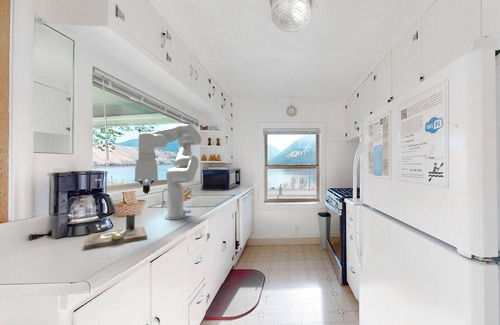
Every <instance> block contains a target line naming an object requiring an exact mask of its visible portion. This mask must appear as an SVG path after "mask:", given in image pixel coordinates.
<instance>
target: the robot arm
mask: <svg viewBox="0 0 500 325" xmlns="http://www.w3.org/2000/svg"><path fill="white" fill-rule="evenodd" d="M175 141H177V145H178V148H179V150H178V153H177V155H176V157H175V160H174V163H173V166H174V167H172V168H169V169H168V170H167V171H166V173H165V178H166V184H167V214H166V215H164V219H166V220H181V219H184V218H186V217H187V215H186V214H191V213H192V210H191V209H184V187H183V185H182V184H191V183H192V182H193V181H194V179H195V177H196V174H197V171H198V168H199V164H200V163H199V159H198V158H199V157H197V156H196V155H192V150H191V149H190V148H189V147H188V146H199V145H200V144H201V143H202V136H201V134H200V133H199V131H198V130H197V128H195V126H193V125H191V124H186V123H185V124H175V125H173V126H171V127H168V128H164V129H160V130H157V131H151V132H140V133H139V134H138V155H137V156H138V158H137V159H136V162H135V168H134V180H133V181H134V182H135V183H140V184H141V185H142V192H143V193H144V194H149V192H150V191H151V185H152V184H153V183H155V182H158V181H159V176H158V175H159V173H158V172H159V171H158V163H157V159H158V158H159V154H158V155H157V154H156V150H157V149H158V150H159V149H160V150H162V149H166V147H168V144H170V143H173V142H175ZM145 180H147V183H146V181H145Z"/></svg>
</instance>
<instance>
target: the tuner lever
mask: <svg viewBox="0 0 500 325" xmlns="http://www.w3.org/2000/svg"><path fill="white" fill-rule="evenodd" d="M135 217H136V214H134V213H129V214H128V213H127V214H125V220H126V221H125V228H124V229H125V230H124V231H122V232H121V233H116V234H113V235H112V240H119V239H122V238H124V234H125V233H127V232H128V231H130V230H132V229H134V228H136V227H135V226H136V223H135V222H136V221H135V220H136V218H135Z"/></svg>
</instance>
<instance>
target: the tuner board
mask: <svg viewBox="0 0 500 325" xmlns="http://www.w3.org/2000/svg"><path fill="white" fill-rule="evenodd" d="M125 229H126V228H123V229H117V230H109V231H102V232H97V233H89V234H88V235H87V239H86V241H85V243H84V246H83V250H90V249H94V248H101V247H107V246H113V245H117V244H124V243H130V242H135V241H141V240H146V239H148V235H147V232H146V229H145V227H144V226H139V227H138V226H137V227H135V228H134V229H132V230H130V231H128V232H127V233H125V234H124V238H122V239H119V240H112V235H113V234H116V233H121V232H122V231H124V230H125Z"/></svg>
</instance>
